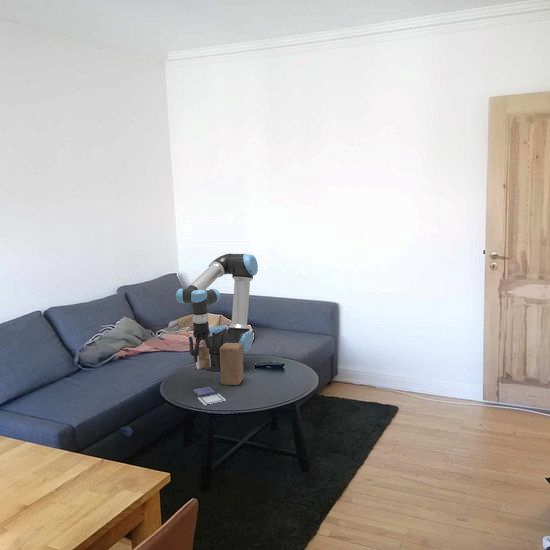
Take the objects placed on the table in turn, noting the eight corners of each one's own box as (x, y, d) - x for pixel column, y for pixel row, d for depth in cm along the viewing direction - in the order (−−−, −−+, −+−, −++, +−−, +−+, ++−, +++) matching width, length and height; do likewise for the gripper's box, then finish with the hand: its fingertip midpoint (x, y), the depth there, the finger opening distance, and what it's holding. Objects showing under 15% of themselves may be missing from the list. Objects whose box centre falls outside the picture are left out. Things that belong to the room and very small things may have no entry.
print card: (218, 394, 286) (218, 393, 286) (226, 400, 277) (226, 399, 277) (197, 398, 281) (197, 397, 281) (204, 405, 272) (204, 404, 272)
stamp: (206, 365, 290) (205, 346, 288) (210, 368, 285) (208, 348, 283) (197, 367, 287) (195, 347, 285) (200, 370, 283) (199, 350, 281)
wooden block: (239, 385, 296) (237, 348, 293) (220, 385, 298) (218, 347, 295) (244, 379, 306) (242, 342, 303) (226, 378, 308) (224, 342, 305)
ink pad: (209, 388, 294) (209, 386, 294) (216, 394, 286) (216, 391, 286) (193, 391, 290) (192, 389, 290) (198, 397, 282) (198, 395, 282)
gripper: (185, 326, 275) (188, 372, 279) (220, 320, 282) (223, 365, 287) (180, 322, 281) (183, 368, 286) (215, 317, 289) (217, 361, 293)
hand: (203, 366), depth 286 cm, fingers closed on stamp, 5 cm apart
